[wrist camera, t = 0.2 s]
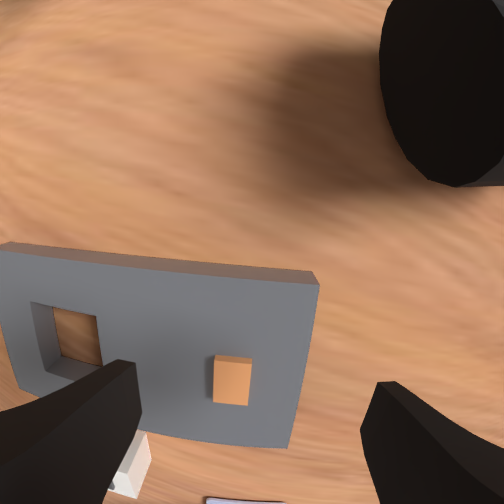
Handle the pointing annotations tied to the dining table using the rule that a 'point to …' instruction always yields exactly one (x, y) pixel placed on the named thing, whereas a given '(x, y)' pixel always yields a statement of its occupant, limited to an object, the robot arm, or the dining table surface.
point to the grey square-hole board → (168, 336)
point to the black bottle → (446, 87)
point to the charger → (132, 467)
